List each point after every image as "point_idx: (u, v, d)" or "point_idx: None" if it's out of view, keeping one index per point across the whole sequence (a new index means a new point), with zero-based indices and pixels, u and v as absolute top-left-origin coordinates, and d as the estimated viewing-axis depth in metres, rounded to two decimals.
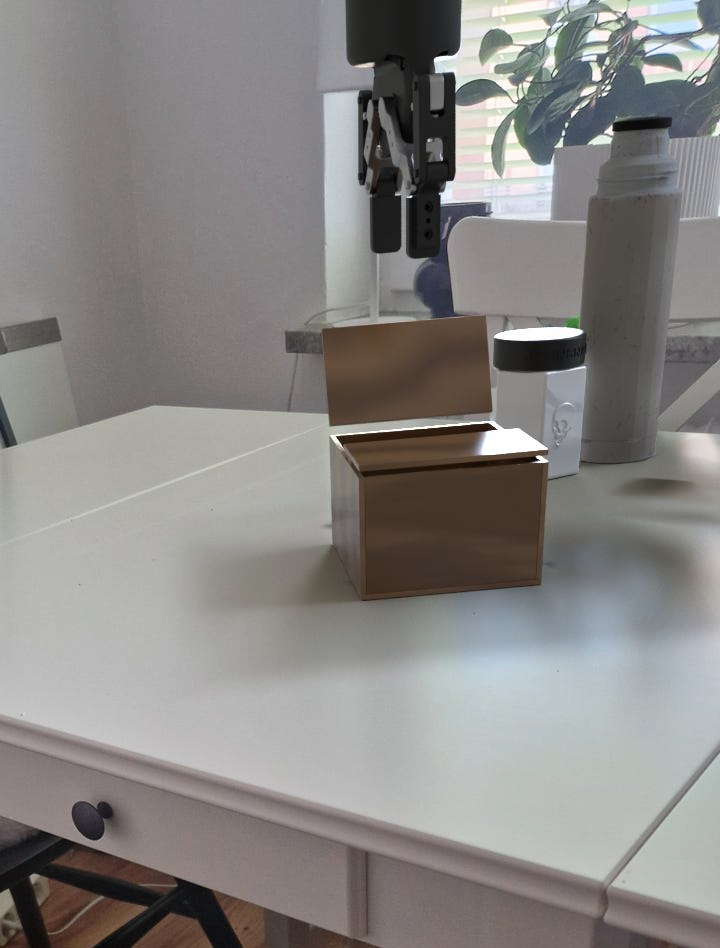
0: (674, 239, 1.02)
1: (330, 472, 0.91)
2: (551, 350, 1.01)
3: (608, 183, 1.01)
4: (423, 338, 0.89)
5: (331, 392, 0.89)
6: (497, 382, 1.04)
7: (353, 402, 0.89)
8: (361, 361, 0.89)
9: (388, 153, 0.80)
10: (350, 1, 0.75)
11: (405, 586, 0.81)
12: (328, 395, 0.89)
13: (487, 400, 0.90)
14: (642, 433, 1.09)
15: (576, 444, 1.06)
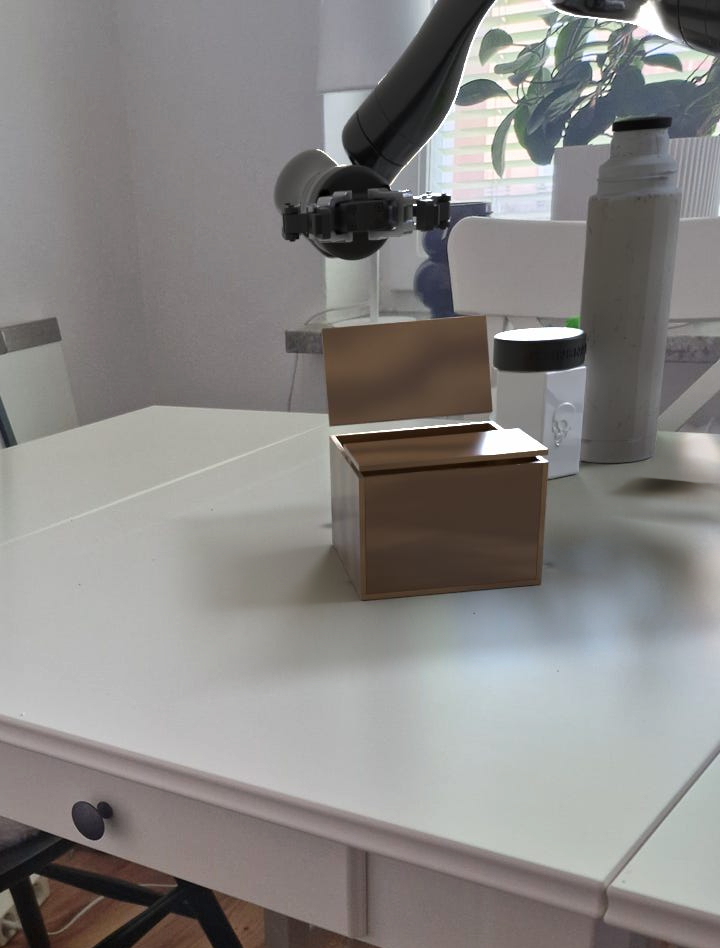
0: (674, 239, 1.02)
1: (330, 472, 0.91)
2: (551, 350, 1.01)
3: (608, 183, 1.01)
4: (423, 338, 0.89)
5: (331, 392, 0.89)
6: (497, 382, 1.04)
7: (353, 402, 0.89)
8: (361, 361, 0.89)
9: (368, 229, 1.00)
10: None
11: (405, 586, 0.81)
12: (328, 395, 0.89)
13: (487, 400, 0.90)
14: (642, 433, 1.09)
15: (576, 444, 1.06)
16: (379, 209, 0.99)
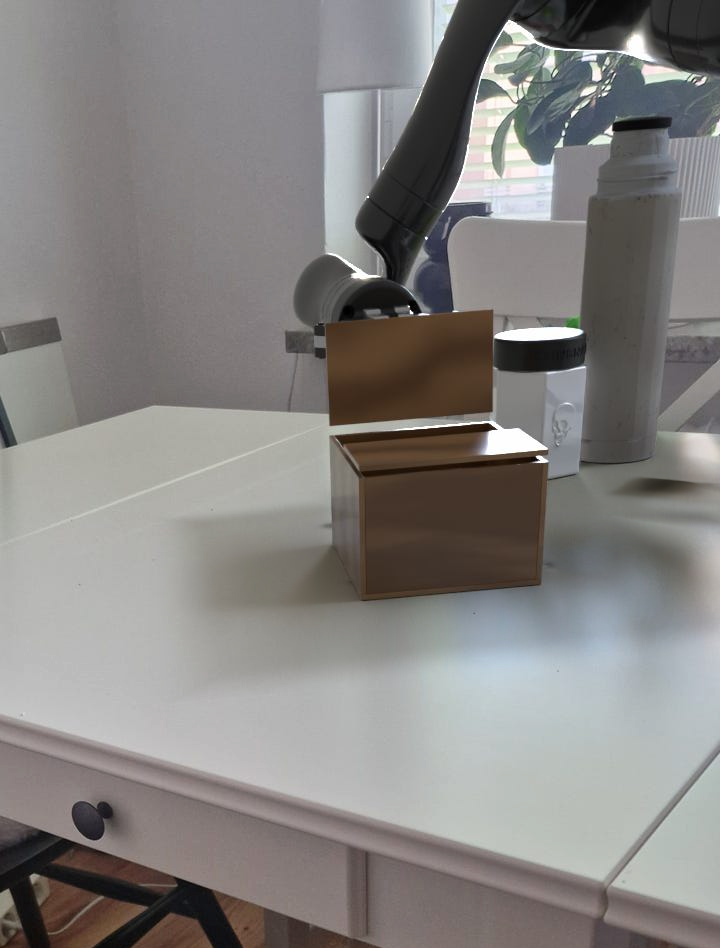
0: (674, 239, 1.02)
1: (330, 472, 0.91)
2: (551, 350, 1.01)
3: (608, 183, 1.01)
4: (428, 334, 0.87)
5: (332, 391, 0.88)
6: (497, 382, 1.04)
7: (354, 402, 0.89)
8: (364, 359, 0.88)
9: None
10: None
11: (405, 586, 0.81)
12: (329, 395, 0.89)
13: (488, 400, 0.89)
14: (642, 433, 1.09)
15: (576, 444, 1.06)
16: None
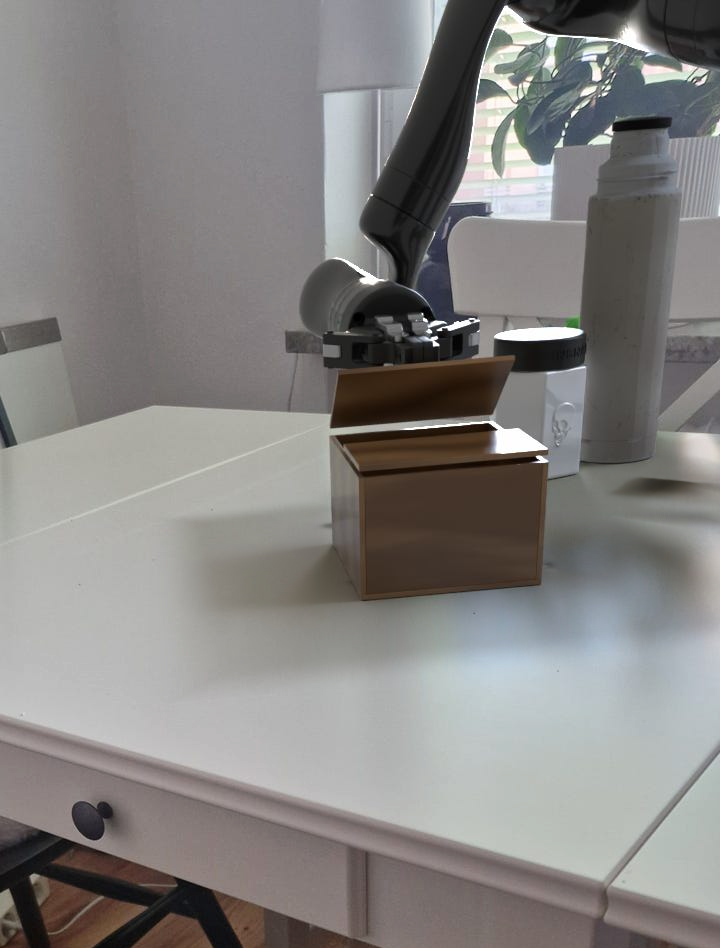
0: (674, 239, 1.02)
1: (330, 472, 0.91)
2: (551, 350, 1.01)
3: (608, 183, 1.01)
4: (442, 377, 0.84)
5: (336, 411, 0.87)
6: None
7: (357, 416, 0.88)
8: (373, 393, 0.85)
9: None
10: None
11: (405, 586, 0.81)
12: (333, 413, 0.87)
13: (490, 409, 0.89)
14: (642, 433, 1.09)
15: (576, 444, 1.06)
16: None
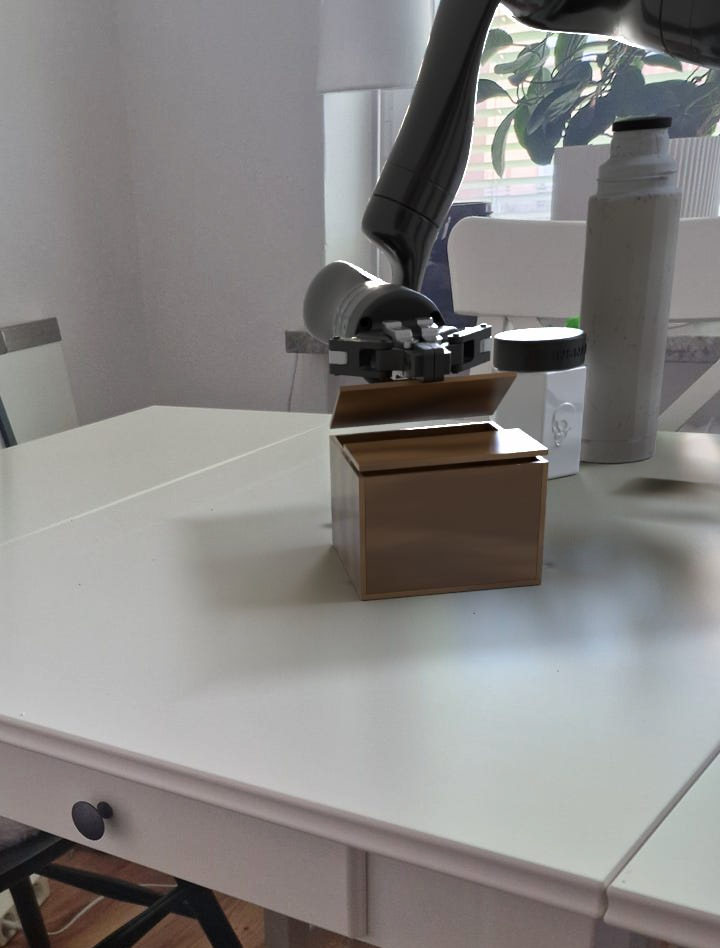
0: (674, 239, 1.02)
1: (330, 472, 0.91)
2: (551, 350, 1.01)
3: (608, 183, 1.01)
4: (444, 390, 0.84)
5: (337, 417, 0.87)
6: None
7: (357, 419, 0.88)
8: (374, 403, 0.85)
9: None
10: None
11: (405, 586, 0.81)
12: (334, 418, 0.87)
13: (490, 411, 0.89)
14: (642, 433, 1.09)
15: (576, 444, 1.06)
16: None
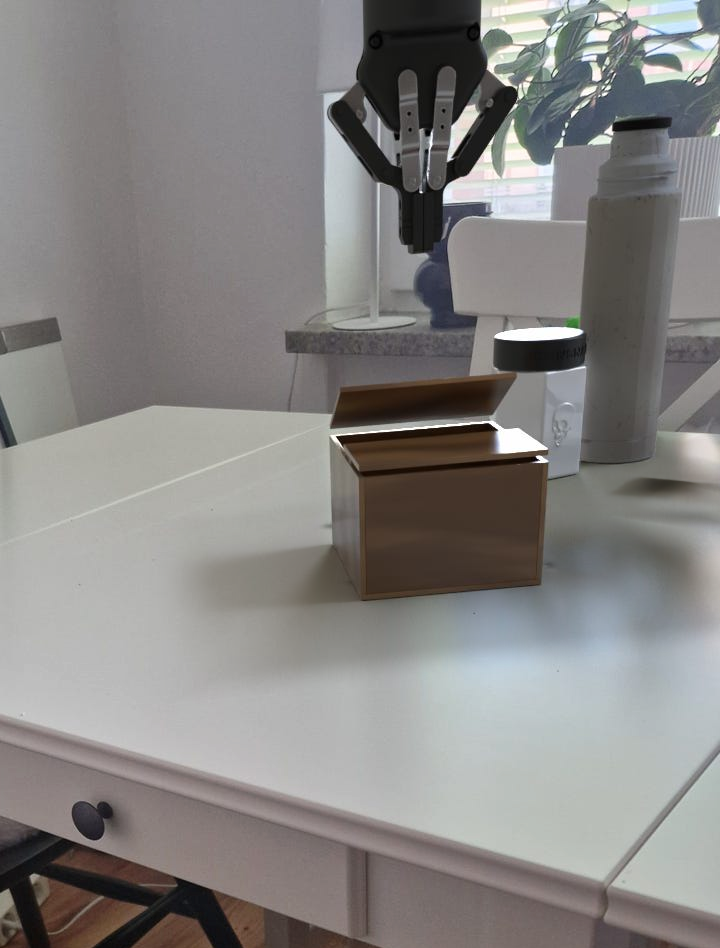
0: (674, 239, 1.02)
1: (330, 472, 0.91)
2: (551, 350, 1.01)
3: (608, 183, 1.01)
4: (444, 391, 0.84)
5: (337, 417, 0.87)
6: None
7: (357, 419, 0.88)
8: (374, 403, 0.85)
9: (421, 128, 0.79)
10: None
11: (405, 586, 0.81)
12: (334, 418, 0.87)
13: (490, 411, 0.89)
14: (642, 433, 1.09)
15: (576, 444, 1.06)
16: None
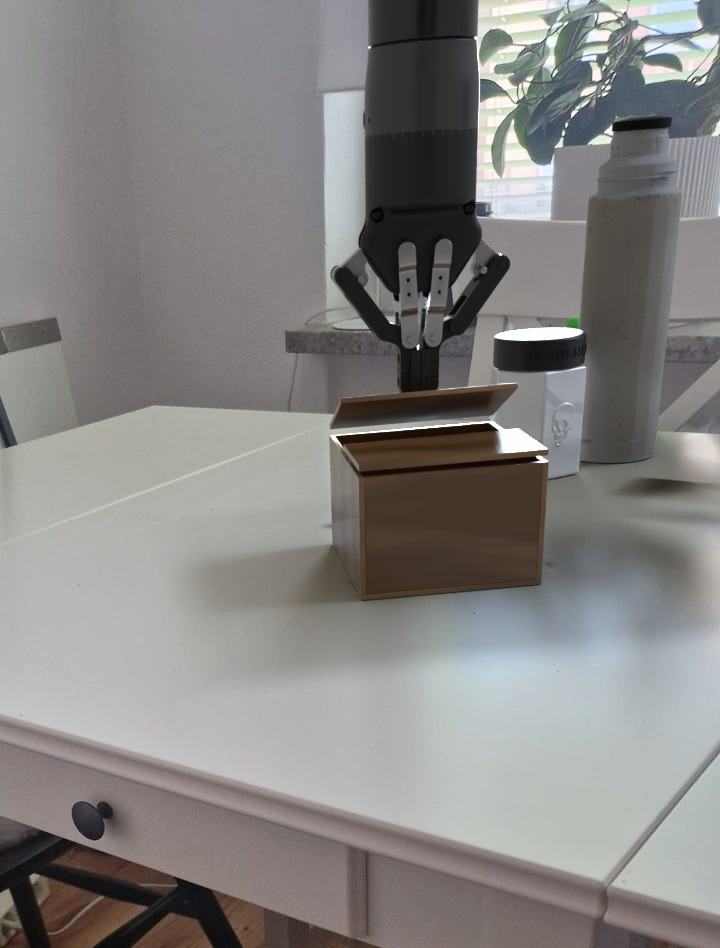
0: (674, 239, 1.02)
1: (330, 472, 0.91)
2: (551, 350, 1.01)
3: (608, 183, 1.01)
4: (444, 399, 0.84)
5: (337, 421, 0.87)
6: (497, 382, 1.04)
7: (357, 422, 0.88)
8: (374, 410, 0.85)
9: None
10: None
11: (405, 586, 0.81)
12: (334, 422, 0.87)
13: (490, 413, 0.89)
14: (642, 433, 1.09)
15: (576, 444, 1.06)
16: None
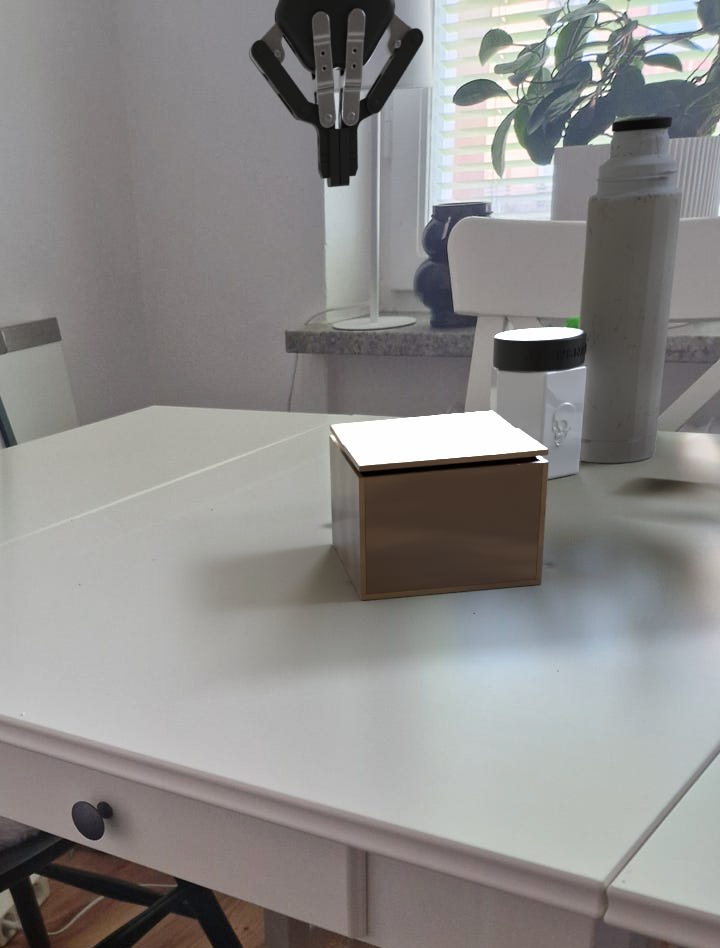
0: (674, 239, 1.02)
1: (330, 472, 0.91)
2: (551, 350, 1.01)
3: (608, 183, 1.01)
4: None
5: None
6: (497, 382, 1.04)
7: None
8: None
9: (337, 68, 0.85)
10: None
11: (405, 586, 0.81)
12: (334, 436, 0.88)
13: None
14: (642, 433, 1.09)
15: (576, 444, 1.06)
16: None
